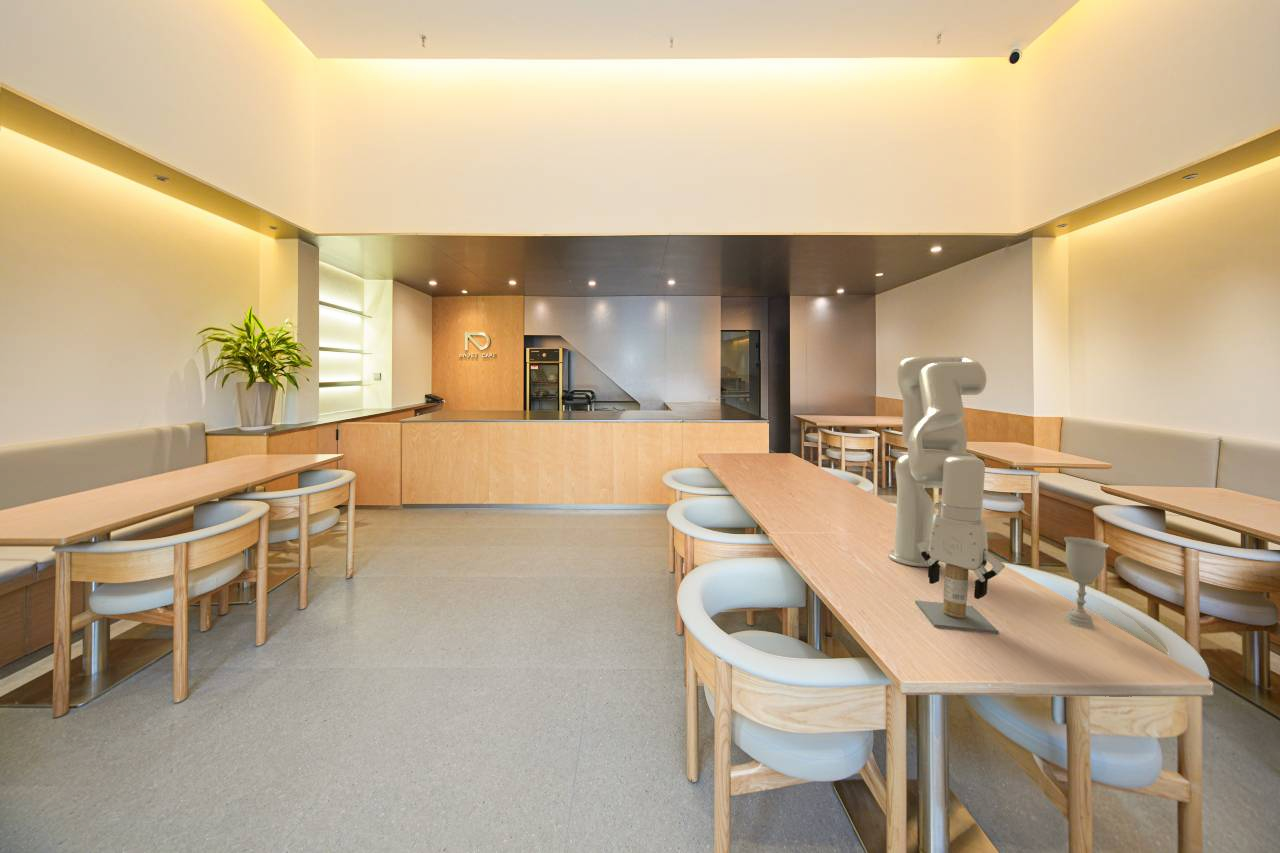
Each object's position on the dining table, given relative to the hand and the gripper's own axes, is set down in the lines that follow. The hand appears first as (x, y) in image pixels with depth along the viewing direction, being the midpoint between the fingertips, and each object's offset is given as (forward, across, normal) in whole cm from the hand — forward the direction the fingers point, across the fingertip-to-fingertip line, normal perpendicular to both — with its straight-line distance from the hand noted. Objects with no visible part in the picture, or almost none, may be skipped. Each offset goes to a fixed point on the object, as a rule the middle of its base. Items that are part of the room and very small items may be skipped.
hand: (955, 589), depth 107 cm
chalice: (+7, +16, +21) cm, 27 cm away
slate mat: (+6, 0, 0) cm, 6 cm away
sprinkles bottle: (+6, 0, 0) cm, 6 cm away
